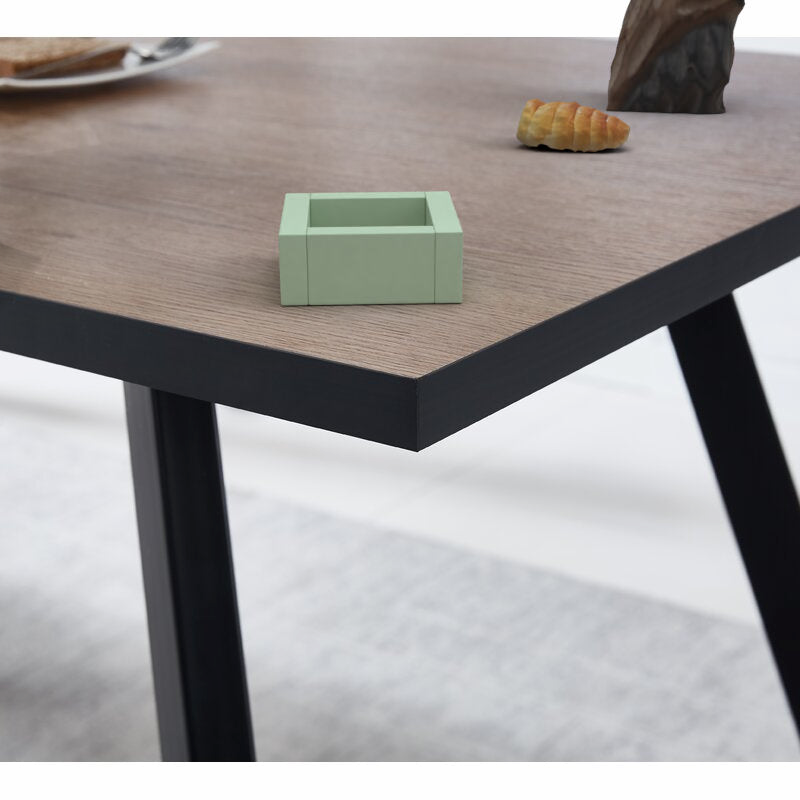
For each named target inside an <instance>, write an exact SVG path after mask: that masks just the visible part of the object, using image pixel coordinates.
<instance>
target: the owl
mask: <svg viewBox="0 0 800 800" xmlns="http://www.w3.org/2000/svg"><path fill="white" fill-rule="evenodd" d="M745 1H746V0H630V1H629V2H628V5H627V7H626V9H625V12H624V17H623V19H622V24H621V28H620V31H619V36H618V39H617V44H616V49H615V54H614V57H613V59H612V62H611V64H610V76H609V80H608V87H607V106H606V111H608V112H610V111H612V112H613V111H614V112H619V111H620V112H639V113H641V112H642V113H667V114H669V113H670V114H681V113H682V114H697V115H698V114H699V115H709V114H710V115H713V114H723V113H724V114H725V113H726V111H727V109H726V108H727V107H726V106H725V103H724V92H725V89H726V86H727V85H728V84H729V83H730V79H731V73H732V68H733V66H734V60H735V54H736V51H735V50H736V47H735V40H734V32H735V28H736V25H737V22H738V18H739V16H740V14H741V13H742V11H743V10H744V8H745V6H746V2H745Z"/></svg>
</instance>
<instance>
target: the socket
mask: <svg viewBox="0 0 800 800" xmlns="http://www.w3.org/2000/svg"><path fill="white" fill-rule="evenodd" d="M277 236H278V237H277V239H278V263H279V264H278V265H279V267H278V268H279V286H280V287H279V289H280V291H279V292H280V305H281V306H282V307H283V306H284V307H285V306H286V307H287V306H288V307H289V306H308V305H309V306H336V305H337V306H343V305H345V306H347V305H403V304H404V305H405V304H406V305H407V304H408V305H409V304H412V305H413V304H462V303H463V272H464V271H463V269H464V268H463V266H464V263H463V261H464V260H463V259H464V231H463V228H462V226H461V222H460V219H459V216H458V214H457V211H456V208H455V205H454V202H453V200H452V197H451V194H450V191H448V190H444V191H443V190H442V191H441V190H439V191H438V190H436V191H435V190H434V191H430V190H429V191H367V192H364V191H362V192H359V191H358V192H356V191H355V192H289V193H288V192H287V193H285V195H284V201H283V206H282V212H281V218H280V224H279V228H278V234H277Z"/></svg>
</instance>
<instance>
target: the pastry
mask: <svg viewBox="0 0 800 800" xmlns="http://www.w3.org/2000/svg"><path fill="white" fill-rule="evenodd" d="M630 133H631V127H630V125H629V124H627V123H626V122H624V121H623V120H621V118H619V117H617V116H614V115H609V114H607V113H605V112H603V111H601V110H599V109H596V108H594V107H591V106H587V105H586V106H585V105H584V106H583V105H581V104H580V103H578V102H577V101H571V102H564V101H557V100H556V101H552V102H548V103H547V102H543V101H542V100H539V99H538V98H532V99H529V100H528V101H526V102H525V106H524V107H523V109H522V111H521V114H520V116H519V121H518V125H517V130H516V133H515V136H516V137H515V138H516V139H517V141H519V142H520V143H521V144H523V145H525V146H526V147H528V148H531V147H536V148H538V146H539V145H545V146H547V147H548V148H550V149H553V150H561V151H563V150H566V149H567V150H572V151H573V152H574V153H576V152H577V151H581V152H583V153H585V152H591V153H592V152H593V153H594V152H595V153H596V152H598V151H603V150H605V149H619V148H620V147H622V146H624V145H625V144H626V143H627V142H628V140H629V136H630Z"/></svg>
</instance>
